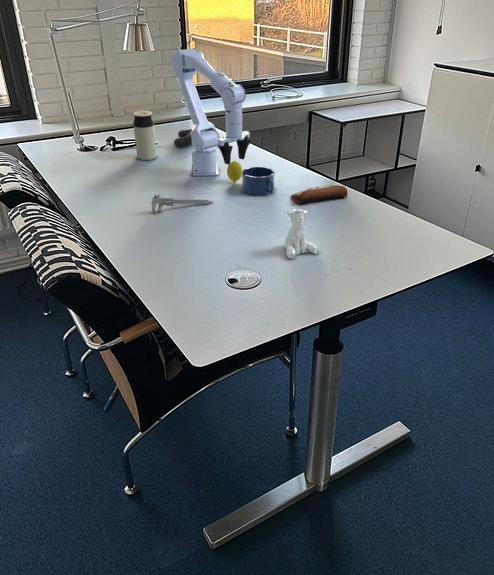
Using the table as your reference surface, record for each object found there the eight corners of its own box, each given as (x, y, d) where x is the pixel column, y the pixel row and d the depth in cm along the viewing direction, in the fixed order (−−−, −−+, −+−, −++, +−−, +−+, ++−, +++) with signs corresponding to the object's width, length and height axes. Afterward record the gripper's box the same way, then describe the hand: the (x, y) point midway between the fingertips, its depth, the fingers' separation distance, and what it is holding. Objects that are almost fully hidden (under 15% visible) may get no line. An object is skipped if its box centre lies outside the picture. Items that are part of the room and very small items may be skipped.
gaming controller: (179, 153, 229) (198, 142, 226) (171, 142, 227) (190, 130, 224) (184, 142, 243) (202, 131, 241) (177, 132, 241) (195, 120, 238)
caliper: (153, 214, 168) (151, 195, 165) (152, 213, 169) (150, 194, 166) (212, 203, 176) (211, 185, 172) (210, 202, 177) (210, 184, 173)
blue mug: (236, 187, 188) (236, 170, 184) (262, 181, 193) (262, 164, 190) (259, 200, 178) (259, 182, 174) (285, 193, 183) (286, 176, 179)
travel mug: (148, 161, 213) (143, 116, 203) (133, 158, 216) (128, 113, 207) (160, 156, 218) (156, 112, 209) (146, 153, 222) (141, 109, 212)
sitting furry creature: (288, 260, 142) (290, 219, 136) (274, 246, 149) (275, 207, 142) (319, 253, 145) (322, 213, 139) (304, 240, 152) (306, 202, 146)
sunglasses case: (335, 188, 186) (341, 175, 180) (343, 204, 183) (349, 191, 177) (289, 195, 180) (294, 182, 175) (296, 211, 177) (301, 199, 172)
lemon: (244, 180, 194) (244, 159, 190) (238, 185, 190) (238, 164, 185) (231, 178, 196) (231, 157, 192) (224, 183, 192) (224, 162, 187)
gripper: (228, 129, 175) (228, 168, 182) (256, 120, 184) (256, 158, 191) (213, 125, 179) (214, 164, 186) (241, 117, 188) (241, 154, 195)
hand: (234, 161), depth 189 cm, fingers open, 7 cm apart
